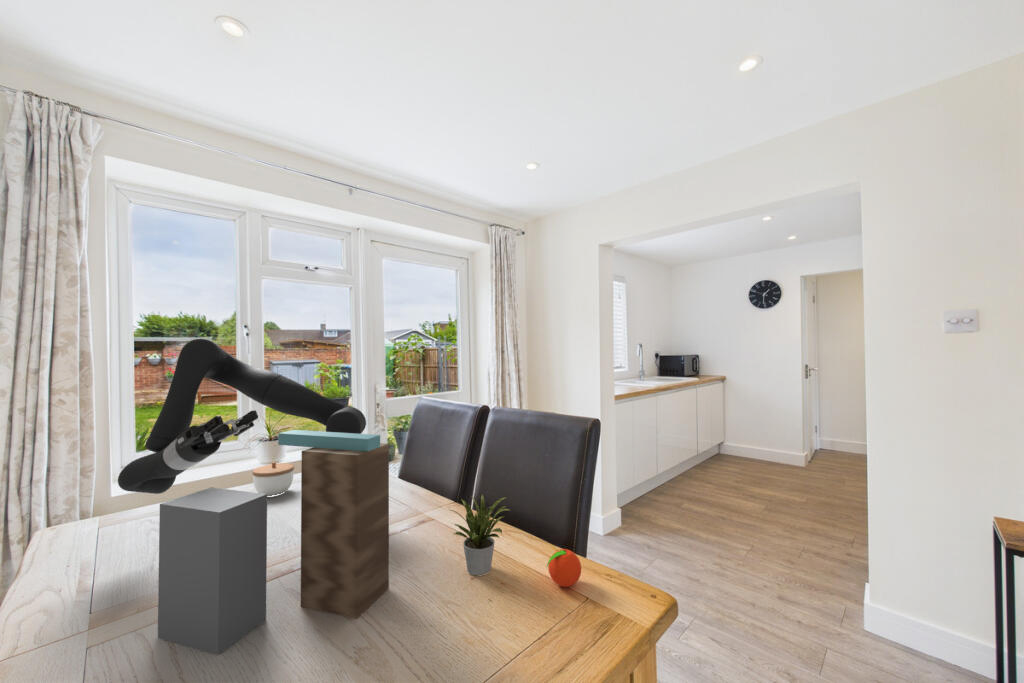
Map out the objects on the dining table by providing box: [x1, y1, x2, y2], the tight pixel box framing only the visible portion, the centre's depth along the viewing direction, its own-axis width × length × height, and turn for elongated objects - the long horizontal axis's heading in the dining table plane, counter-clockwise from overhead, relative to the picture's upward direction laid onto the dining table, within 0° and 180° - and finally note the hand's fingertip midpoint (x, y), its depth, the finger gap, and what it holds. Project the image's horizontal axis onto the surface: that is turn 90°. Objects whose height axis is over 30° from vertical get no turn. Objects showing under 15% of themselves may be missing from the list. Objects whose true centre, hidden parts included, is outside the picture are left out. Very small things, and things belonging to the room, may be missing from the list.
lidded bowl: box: [252, 461, 295, 496], centre depth 142 cm, size 13×13×11 cm
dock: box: [157, 487, 268, 656], centre depth 73 cm, size 14×9×23 cm, turn 73°
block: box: [277, 429, 381, 451], centre depth 84 cm, size 22×4×2 cm, turn 73°
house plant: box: [449, 494, 510, 576], centre depth 92 cm, size 14×14×16 cm
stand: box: [300, 442, 390, 620], centre depth 82 cm, size 13×10×30 cm
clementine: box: [546, 548, 582, 588], centre depth 85 cm, size 8×7×7 cm
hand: (239, 416), depth 92 cm, fingers open, 8 cm apart
